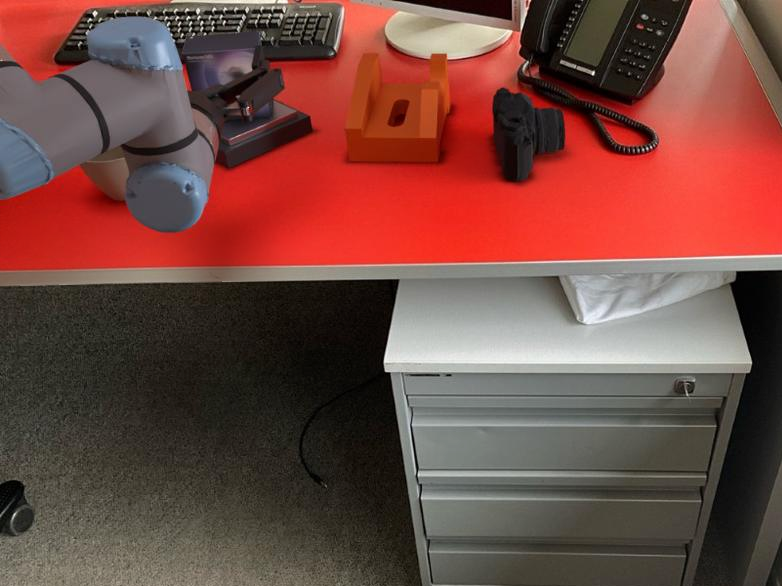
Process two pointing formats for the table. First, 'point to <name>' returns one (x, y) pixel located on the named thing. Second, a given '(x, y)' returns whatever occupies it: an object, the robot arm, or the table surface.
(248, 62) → the small box
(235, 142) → the scale
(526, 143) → the film camera
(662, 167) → the table surface
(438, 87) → the orange slotted bracket
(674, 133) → the table surface
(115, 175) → the flower pot
